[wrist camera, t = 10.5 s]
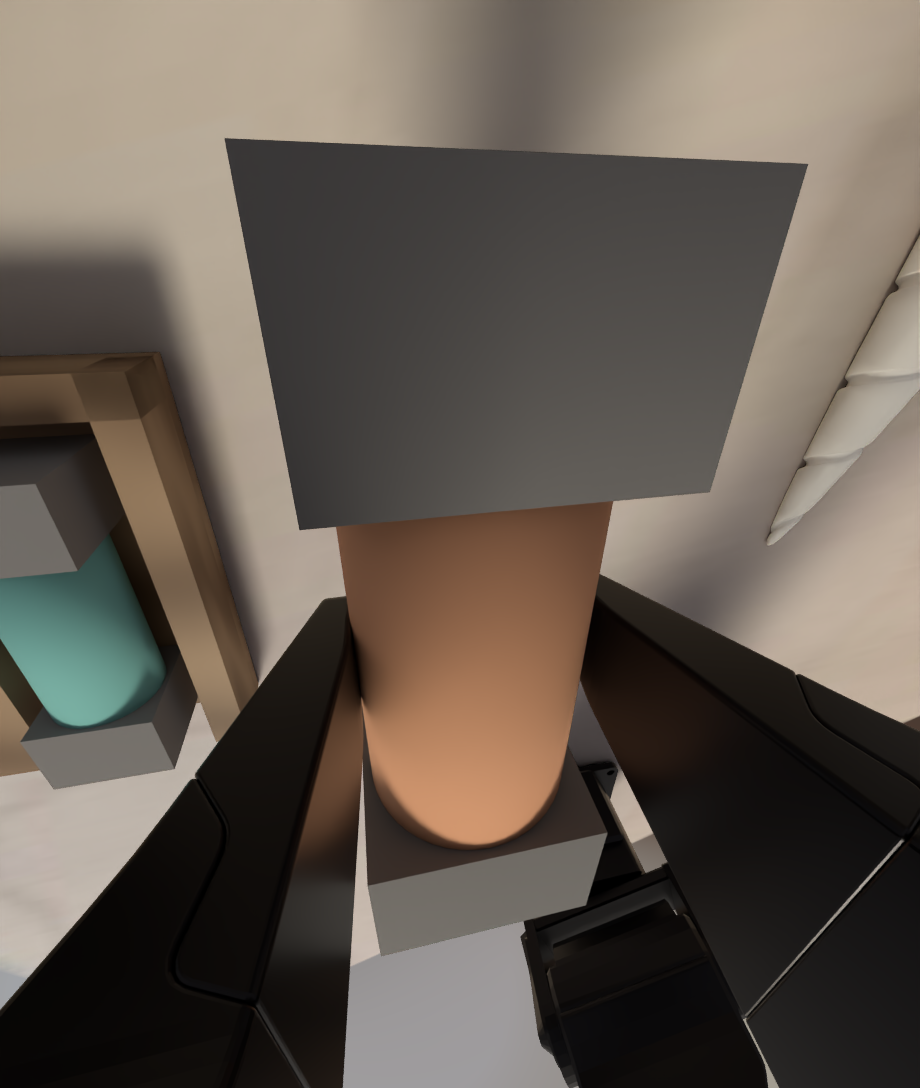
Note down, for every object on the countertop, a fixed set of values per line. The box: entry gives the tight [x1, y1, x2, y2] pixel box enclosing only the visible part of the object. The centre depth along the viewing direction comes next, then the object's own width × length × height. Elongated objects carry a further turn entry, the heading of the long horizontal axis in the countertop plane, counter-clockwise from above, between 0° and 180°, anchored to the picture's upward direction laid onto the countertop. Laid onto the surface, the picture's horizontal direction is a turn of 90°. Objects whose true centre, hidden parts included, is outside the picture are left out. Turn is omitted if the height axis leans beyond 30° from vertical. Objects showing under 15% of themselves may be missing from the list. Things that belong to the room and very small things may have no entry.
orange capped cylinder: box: [225, 138, 808, 956], centre depth 7 cm, size 11×4×4 cm, turn 0°
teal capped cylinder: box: [0, 434, 198, 789], centre depth 16 cm, size 11×4×4 cm, turn 0°
